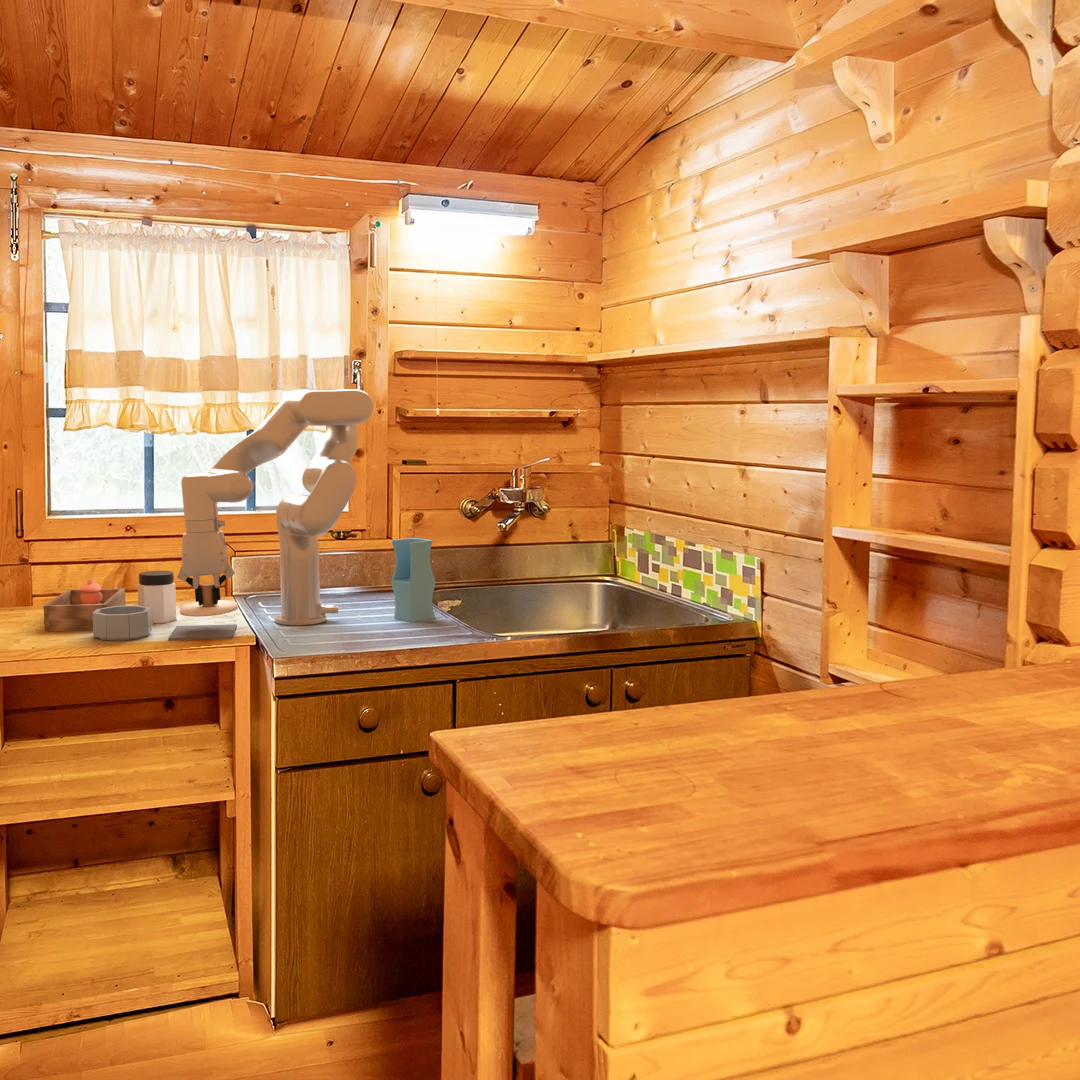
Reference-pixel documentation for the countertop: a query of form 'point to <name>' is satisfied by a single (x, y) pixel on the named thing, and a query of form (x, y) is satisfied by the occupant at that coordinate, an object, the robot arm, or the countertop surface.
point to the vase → (413, 580)
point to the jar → (158, 595)
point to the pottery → (91, 593)
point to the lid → (208, 605)
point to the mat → (203, 632)
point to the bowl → (122, 622)
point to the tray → (77, 609)
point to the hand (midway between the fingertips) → (208, 603)
